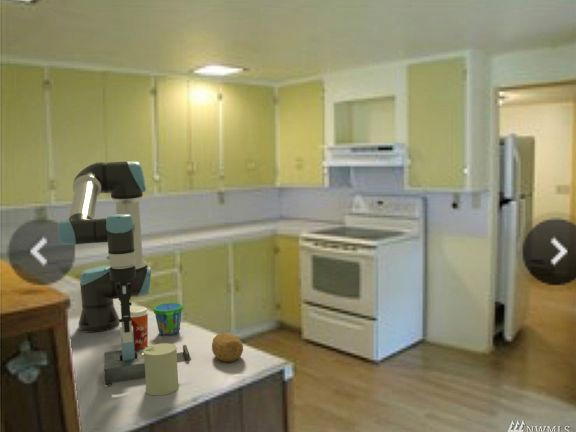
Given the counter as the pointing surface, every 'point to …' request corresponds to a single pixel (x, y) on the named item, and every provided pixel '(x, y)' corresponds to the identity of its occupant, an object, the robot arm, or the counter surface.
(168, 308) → the snack cup
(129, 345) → the plug
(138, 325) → the coffee cup
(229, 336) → the potato
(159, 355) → the can
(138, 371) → the port
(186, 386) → the counter surface
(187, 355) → the dark grey bridge bracket
